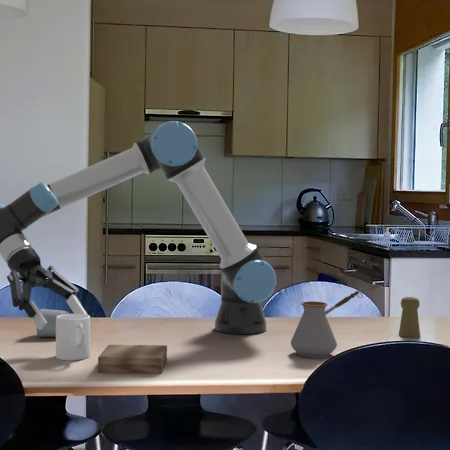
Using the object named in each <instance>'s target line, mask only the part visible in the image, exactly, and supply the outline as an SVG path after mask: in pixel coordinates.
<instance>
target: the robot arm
mask: <svg viewBox="0 0 450 450" xmlns="http://www.w3.org/2000/svg"><path fill="white" fill-rule="evenodd" d="M205 162H206V156H205V155H204V153H203V151H202V149H201V147H200V146H199V144H198V139H197V135H196V134H195V132H194V131H193V129H192V128H191V127H190V126H189V125H187V124H186V123H184V122H181V121H176V120H171V121H166V122H164V123H161V124H160V125H159V126H158V127H157V126H156V127H155V129H154V131H152V133H150V134H149V135H147V136H146V137H144V138H141V139H140V140H138V141H136V142H134V143H133V145H132V147H131V148H129V149H127V150H125V151H122V152H120V153H118V154H114V155H113V156H110V157H108V158H106V159H103V160H101V161H99V162H97V163H94V164H92V165H90V166H88V167H86V168H83V169H81V170H78V171H76V172H74V173H72V174H69V175H67V176H65V177H63V178H60V179H58V180H56V181H53V182H51V183H49V184H46V183H45V182H39V183H37V184H36V185H34V186H32V187H30V189H28V190H27V191H25V192H24V193H23V194H22V195H20V196H19V197H17V198H16V199H15V200H14V201H12V202H11V203H9V204H7V205H4V204H2V203H0V256H1V258H2V259H3V260H4V262H5V263H6V264H7V267H8V268H9V270H10V272H9V273H8V275H7V276H6V279H7V281H8V283H9V287H10V294H11V301H12V302H11V303H12V306H13V308H18V310H19V311H23V310H24V312H25V313H26V314H27V316H28V317H29V318H30V319H31V320H32V321H33V323H34V325H35V326H36V329H37V328H38V329H39V330H42V329H43V327H44V326H45V325H46V324H47V323H48V322H47V321H46V319H45V318H44V316H43V315H42V313H41V312H40V309H39V307H38V306H37V304H36V303H35V302H34V300H32V301H31V296H32V288H33V289H34V288H36V287H39V288H41V287H42V288H45V289H46V288H47V289H49V290H50V291H53V292H54V293H56V294H57V295H59V296H61V297H63V298H65V299H66V302H65V303H66V304H67V305H68V307H69V308H70V309H71V311H72V312H73V314H86V315H88V313H87V311H86V310H85V309H84V307H83V305H82V302H81V301H80V300H79V298H78V297H77V294H78V293H79V292H80V289H79V288H78V287H77V286H76V285H74V284H73V283H72V282H71V281H70V280H68V279H67V278H65V276H63V275H62V274H60V273H59V272H58V271H57V270H56V269H55V267H54V266H53V265H49V266H48V267H47V268H45V267H43V266H42V264H41V261H42V260H41V258H40V256H39V255H38V253H37V252H36V250H35V249H34V248H33V246H32V243H31V242H30V241H29V240H28V238H27V237H26V235H25V234H24V233H23V232H24V230H26V229H27V228H28V227H30V226H31V225H33V224H34V223H36V222H37V221H39V220H40V219H41V218H44V217H46V216H48V215H50V214H52V213H55V212H57V211H59V210H61V209H64V208H65V207H68V206H70V205H72V204H75V203H77V202H79V201H81V200H84V199H87V198H89V197H91V196H93V195H95V194H99V192H103V191H104V190H107V189H109V188H111V187H114V186H116V185H118V184H120V183H123V182H126V181H128V180H129V179H132V178H134V177H137V176H139V175H141V174H146V175H149V174H152V173H155V172H158V171H162V172H163V174H164V176H165V178H166V179H167V181H168V182H172V183H175V184H176V185H177V186H178V188H179V191H181V193H182V195H183V197H184V198H185V200H186V201H187V203H188V205H189V207H190V208H191V210H192V212H193V213H194V215H195V217H196V219H197V220H198V222H199V224H200V225H201V227H202V228H203V230H204V232H205V233H206V235H207V237H208V239H209V241H210V242H211V245H212V246H213V247H214V248H215V251H216V252H217V254H218V256H219V257H220V264H219V268H220V270H221V273H220V276H221V279H220V281H221V283H220V285H221V286H220V288H221V290H220V306H219V308H218V311H217V314H216V318H215V321H214V330H215V331H217V332H220V333H224V334H230V335H231V334H232V335H252V334H253V335H254V334H259V333H264V332H265V331H267V320H266V316H265V314H264V310H263V307H262V304H261V303H262V302H263V301H266V300H267V299H269V298H270V297H271V295H273V293H274V292H275V290H276V287H277V280H278V279H277V274H276V271H275V269H274V267H273V266H272V265H271V264H270V263H269V262H267V261H266V259H265V257H264V256H263V254H262V253H261V251H260V249H259V248H258V246H257V244H254V243H250V242H249V241H248V240H247V238H246V236H245V234H244V233H243V231H242V229H241V228H240V226H239V224H238V222H237V221H236V219H235V217H234V216H233V213H232V212H231V210H230V209H229V207H228V205H227V204H226V201H225V200H224V198H223V197H222V195H221V193H220V191H219V190H218V188H217V187H216V185H215V183H214V182H213V180H212V178H211V177H210V175H209V173H208V172H207V169H206V167H205ZM21 282H22V287H21Z"/></svg>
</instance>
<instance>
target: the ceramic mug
mask: <svg viewBox="0 0 450 450" xmlns="http://www.w3.org/2000/svg"><path fill="white" fill-rule="evenodd" d="M39 310H40V312H41V313H42V315H43V316H44V318H45V319H46V321H47V322H48V323H47V324H46V325H45V326H44V327H43V329H42V330H39V329H38V328H37V327H36V335H37V337H38V338H56V317H57V316H59V315H63V314H70V313H69V311H66V310H61V309H59V310H58V309H46V308H40V309H39Z"/></svg>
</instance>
